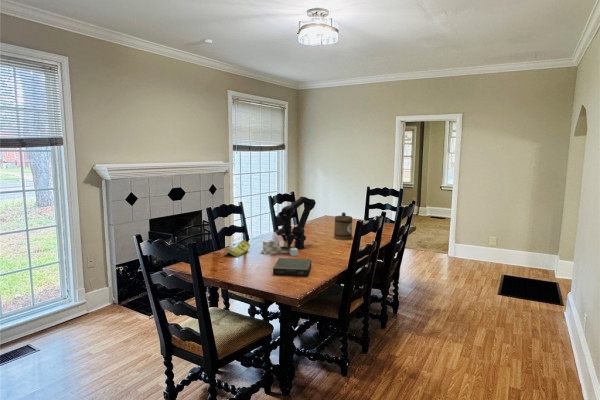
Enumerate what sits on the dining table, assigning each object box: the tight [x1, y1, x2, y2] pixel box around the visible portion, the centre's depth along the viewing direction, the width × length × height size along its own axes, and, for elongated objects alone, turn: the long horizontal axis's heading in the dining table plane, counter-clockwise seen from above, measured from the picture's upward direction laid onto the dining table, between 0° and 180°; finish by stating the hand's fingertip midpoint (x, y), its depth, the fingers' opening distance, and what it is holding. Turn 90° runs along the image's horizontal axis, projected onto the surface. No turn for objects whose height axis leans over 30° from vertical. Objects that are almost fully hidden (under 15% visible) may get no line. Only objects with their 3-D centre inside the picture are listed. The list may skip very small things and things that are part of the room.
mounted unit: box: [261, 239, 294, 255], centre depth 269 cm, size 23×8×8 cm, turn 111°
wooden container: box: [333, 211, 353, 241], centre depth 313 cm, size 15×15×22 cm
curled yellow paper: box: [224, 240, 251, 258], centre depth 265 cm, size 20×7×10 cm
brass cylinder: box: [283, 240, 290, 249], centre depth 272 cm, size 5×5×6 cm
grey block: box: [289, 247, 299, 257], centre depth 261 cm, size 4×4×4 cm
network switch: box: [272, 257, 312, 277], centre depth 227 cm, size 23×23×5 cm
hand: (287, 245), depth 272 cm, fingers open, 9 cm apart
